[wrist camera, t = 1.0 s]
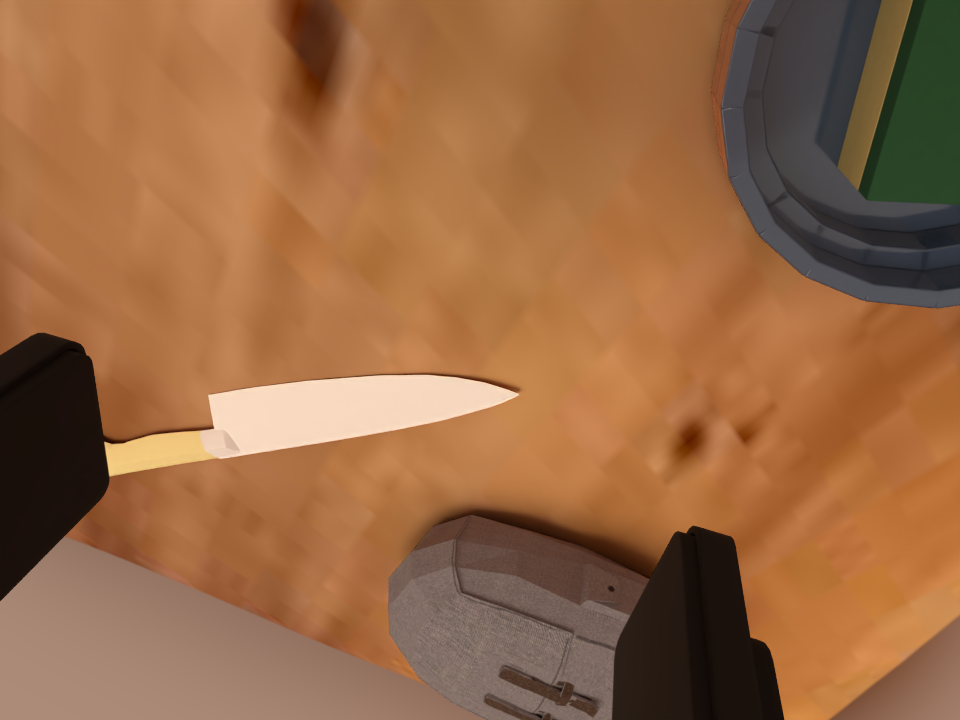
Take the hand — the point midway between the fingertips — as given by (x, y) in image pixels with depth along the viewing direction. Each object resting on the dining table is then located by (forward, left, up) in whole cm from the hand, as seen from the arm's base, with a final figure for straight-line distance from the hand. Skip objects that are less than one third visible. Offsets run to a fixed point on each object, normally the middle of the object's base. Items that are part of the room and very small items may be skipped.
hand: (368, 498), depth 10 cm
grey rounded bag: (+29, +11, -24) cm, 39 cm away
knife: (+23, -10, -24) cm, 35 cm away
